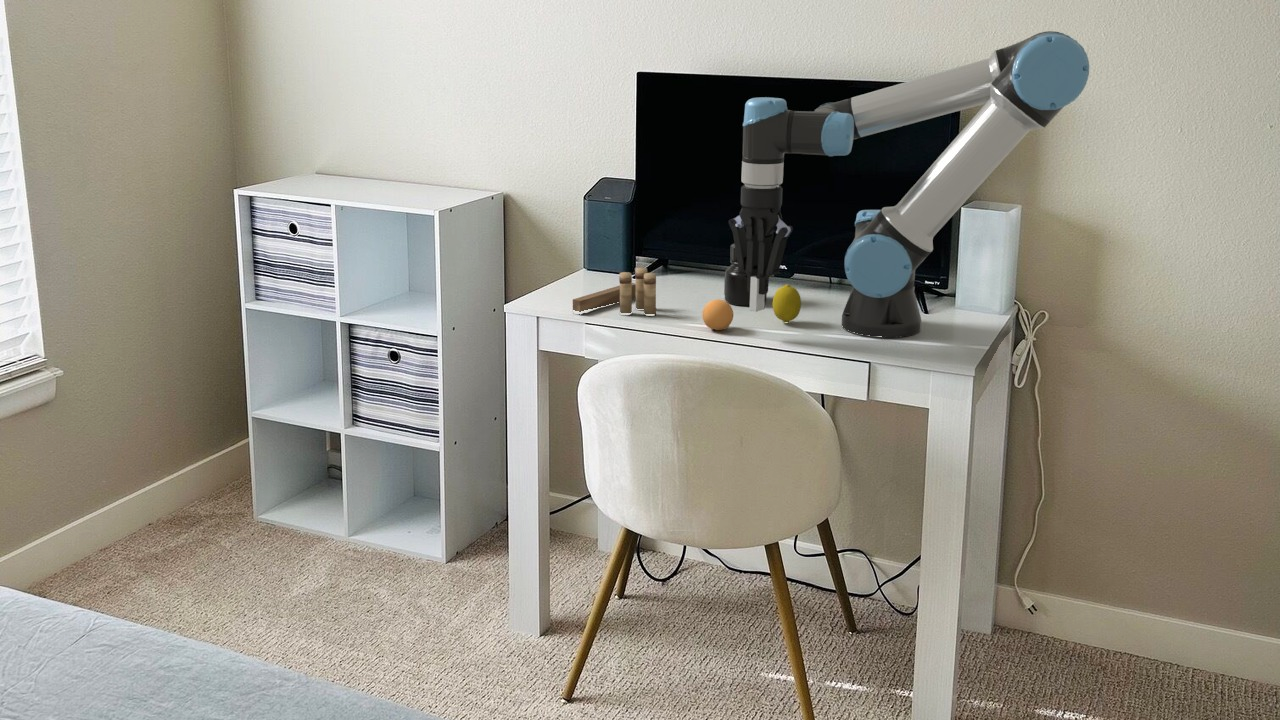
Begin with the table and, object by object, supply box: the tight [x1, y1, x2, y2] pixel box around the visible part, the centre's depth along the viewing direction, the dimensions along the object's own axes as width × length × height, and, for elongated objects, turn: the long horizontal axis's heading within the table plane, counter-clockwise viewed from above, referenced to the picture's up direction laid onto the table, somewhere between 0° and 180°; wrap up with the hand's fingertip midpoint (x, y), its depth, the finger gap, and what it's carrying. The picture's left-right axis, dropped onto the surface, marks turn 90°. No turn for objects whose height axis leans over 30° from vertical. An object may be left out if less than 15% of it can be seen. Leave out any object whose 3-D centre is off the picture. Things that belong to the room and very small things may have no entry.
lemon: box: [772, 283, 802, 323], centre depth 230 cm, size 6×6×8 cm
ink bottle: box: [723, 243, 768, 307], centre depth 245 cm, size 10×9×12 cm
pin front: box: [643, 272, 657, 314], centre depth 236 cm, size 2×2×8 cm
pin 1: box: [618, 271, 633, 313], centre depth 237 cm, size 2×2×8 cm
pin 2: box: [634, 267, 648, 309], centre depth 240 cm, size 2×2×8 cm
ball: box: [701, 298, 734, 331], centre depth 226 cm, size 6×6×6 cm
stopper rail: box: [572, 282, 636, 312], centre depth 244 cm, size 2×18×3 cm, turn 141°
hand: (756, 309), depth 219 cm, fingers closed
